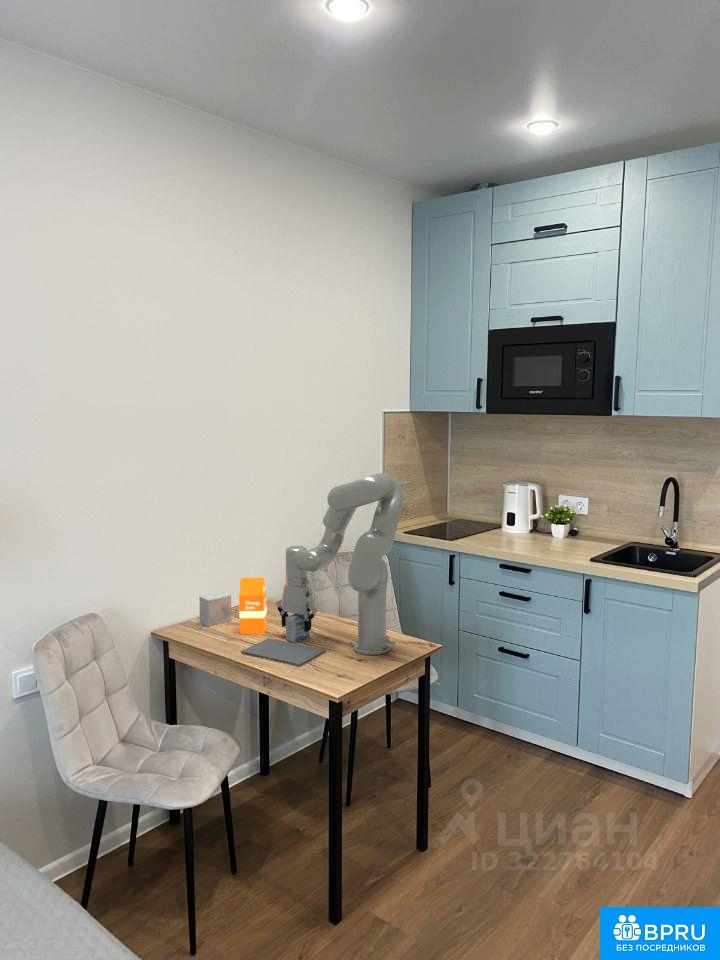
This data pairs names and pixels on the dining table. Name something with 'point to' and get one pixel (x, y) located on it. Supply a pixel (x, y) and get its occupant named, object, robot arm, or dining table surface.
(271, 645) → the mat
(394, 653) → the dining table surface
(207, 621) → the skincare box
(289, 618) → the medicine box
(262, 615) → the orange juice
